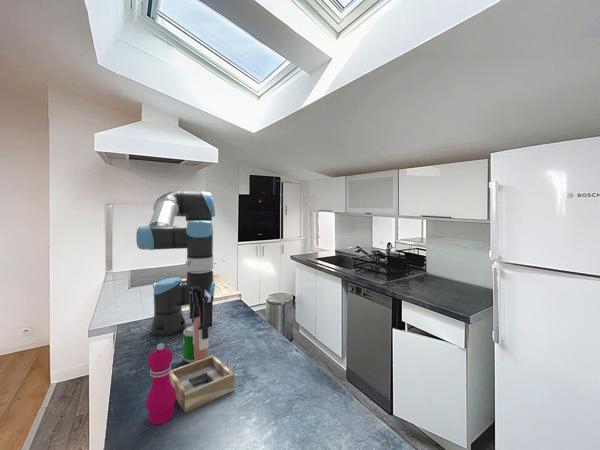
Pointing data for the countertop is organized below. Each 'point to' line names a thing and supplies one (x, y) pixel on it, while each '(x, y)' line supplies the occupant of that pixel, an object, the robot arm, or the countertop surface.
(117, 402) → the countertop surface
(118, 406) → the countertop surface
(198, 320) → the peg
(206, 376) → the box
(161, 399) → the pepper mill
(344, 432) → the countertop surface
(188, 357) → the soda can
